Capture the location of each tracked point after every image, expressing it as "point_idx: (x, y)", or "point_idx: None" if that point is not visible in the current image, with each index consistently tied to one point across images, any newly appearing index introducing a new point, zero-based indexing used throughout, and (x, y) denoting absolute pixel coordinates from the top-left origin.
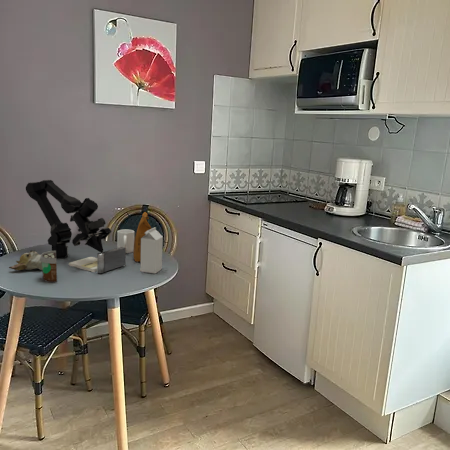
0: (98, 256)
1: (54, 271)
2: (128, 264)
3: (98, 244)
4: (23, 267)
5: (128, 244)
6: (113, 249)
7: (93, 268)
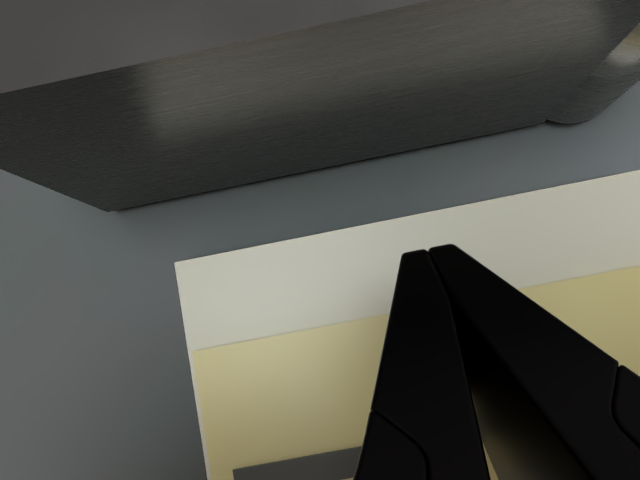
0: None
1: None
2: (21, 180)
3: (562, 382)
4: None
5: None
6: (223, 16)
7: (617, 211)
